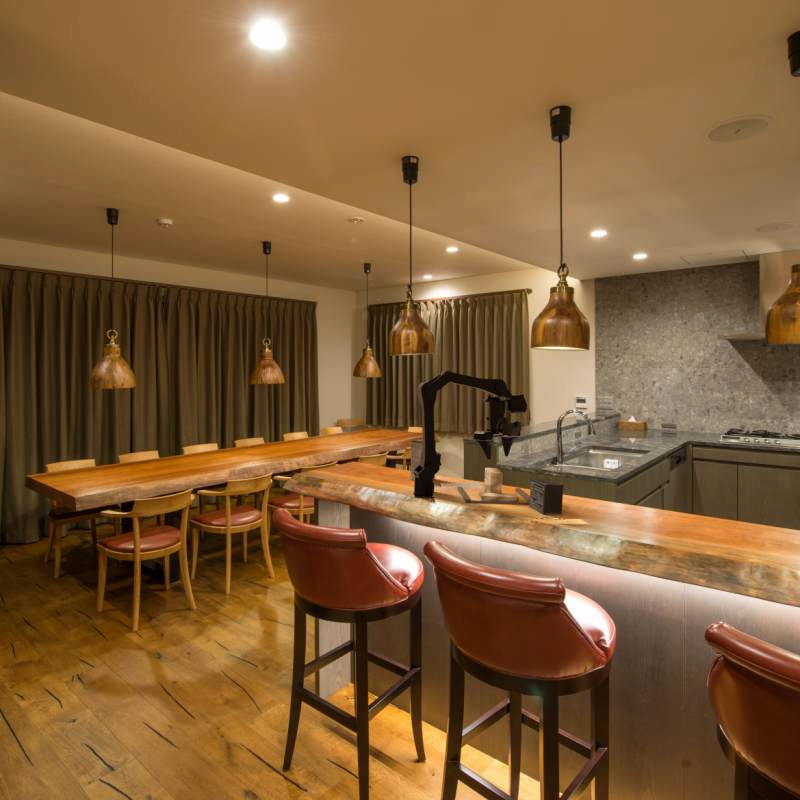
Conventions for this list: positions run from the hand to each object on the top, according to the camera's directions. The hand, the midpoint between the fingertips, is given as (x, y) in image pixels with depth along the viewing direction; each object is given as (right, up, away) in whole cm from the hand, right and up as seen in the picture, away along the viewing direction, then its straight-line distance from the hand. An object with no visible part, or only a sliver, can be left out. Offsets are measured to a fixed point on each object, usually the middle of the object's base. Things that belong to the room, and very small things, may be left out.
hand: (497, 457), depth 185 cm
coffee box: (-26, -12, +28) cm, 40 cm away
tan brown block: (-3, -14, -6) cm, 15 cm away
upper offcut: (-3, -12, -15) cm, 20 cm away
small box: (+10, -15, -26) cm, 32 cm away
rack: (-3, -14, -9) cm, 16 cm away
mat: (-11, -13, +11) cm, 20 cm away
